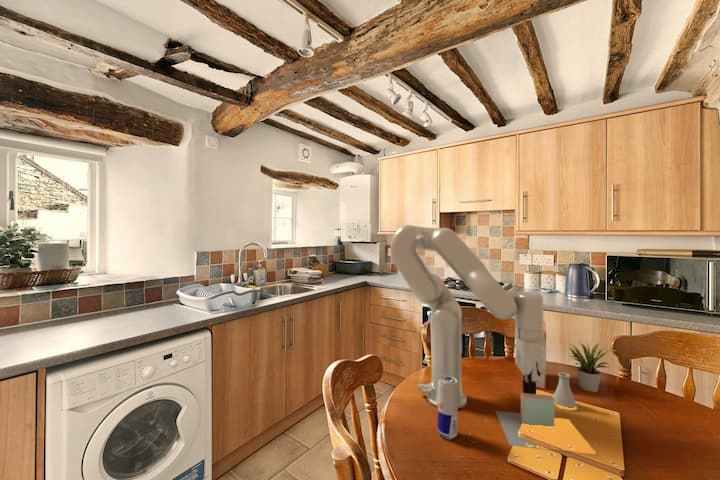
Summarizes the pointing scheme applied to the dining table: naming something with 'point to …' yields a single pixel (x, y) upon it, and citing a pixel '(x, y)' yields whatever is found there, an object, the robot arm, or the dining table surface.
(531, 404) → the tile
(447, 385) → the beverage can
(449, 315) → the robot arm
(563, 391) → the flask
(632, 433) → the dining table surface
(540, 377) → the cracker box
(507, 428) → the mat
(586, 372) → the house plant
